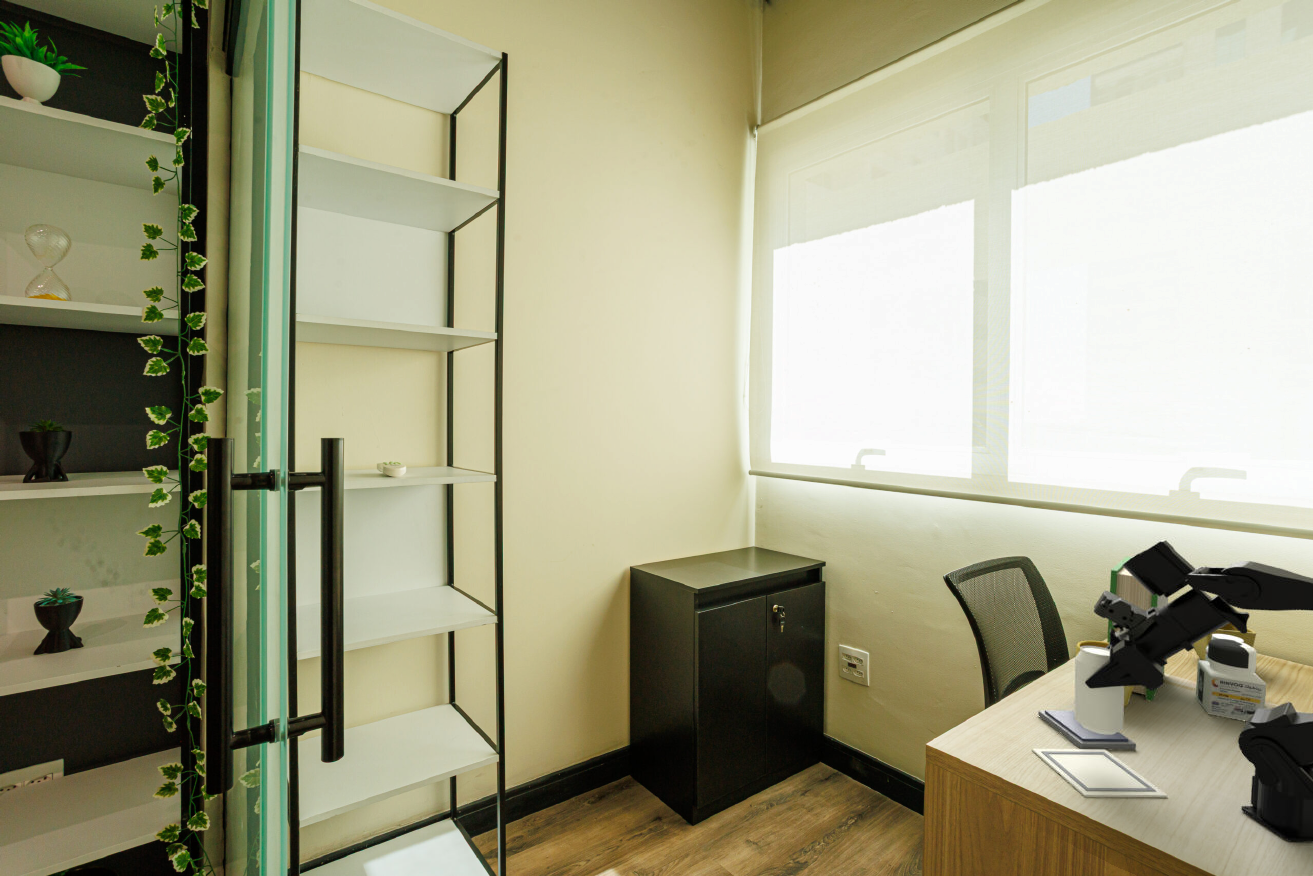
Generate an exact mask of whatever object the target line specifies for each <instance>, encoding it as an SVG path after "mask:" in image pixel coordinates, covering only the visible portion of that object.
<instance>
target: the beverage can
mask: <svg viewBox="0 0 1313 876" xmlns="http://www.w3.org/2000/svg"><path fill="white" fill-rule="evenodd" d="M1109 658H1110V649H1107V648H1103V647H1097V646H1082V647H1081V650H1080V652H1079V653H1078V655H1077V656H1076V655H1075V658H1074V707H1073V708H1074V710H1073V711H1074V716H1075V720H1076V721H1077V722H1078V723H1080V724H1081V725H1082V726H1083V727H1084V728H1086V729H1087V730H1090V731H1092V732H1096V733H1100V734H1106V735H1112V734H1115V733H1116V732H1119V733H1120V732H1122V731H1123V730H1124V717H1125V716H1124V715H1125V714H1124V711H1125V707H1124V686H1117V687H1104V688H1092V689H1091V688H1089V687H1088V686H1087V685H1086V684H1085V681H1086V680H1087V679H1088V678H1089V677H1090V676H1091V675H1093V674H1094V673H1095V672H1096V671H1097V670H1098V669H1099V668H1100V667H1101V666H1102V665H1103V664H1105V663H1106V662H1107V661H1108V660H1109Z"/></svg>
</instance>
